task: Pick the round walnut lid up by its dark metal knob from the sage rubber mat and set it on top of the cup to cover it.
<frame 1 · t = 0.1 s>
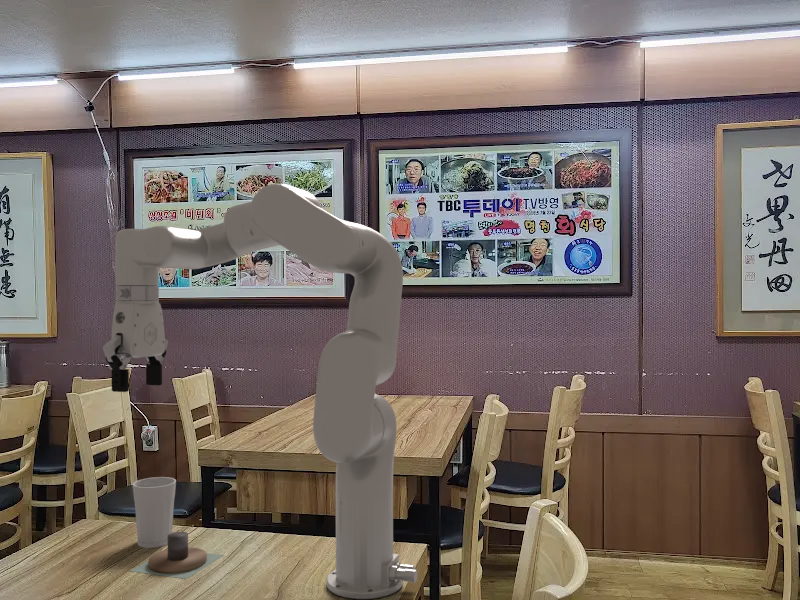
hand: (137, 388, 131), 31 cm above the table, fingers open, 9 cm apart
cup: (154, 544, 137), on the table
mat: (177, 565, 126), on the table
lid: (177, 562, 126), resting on mat
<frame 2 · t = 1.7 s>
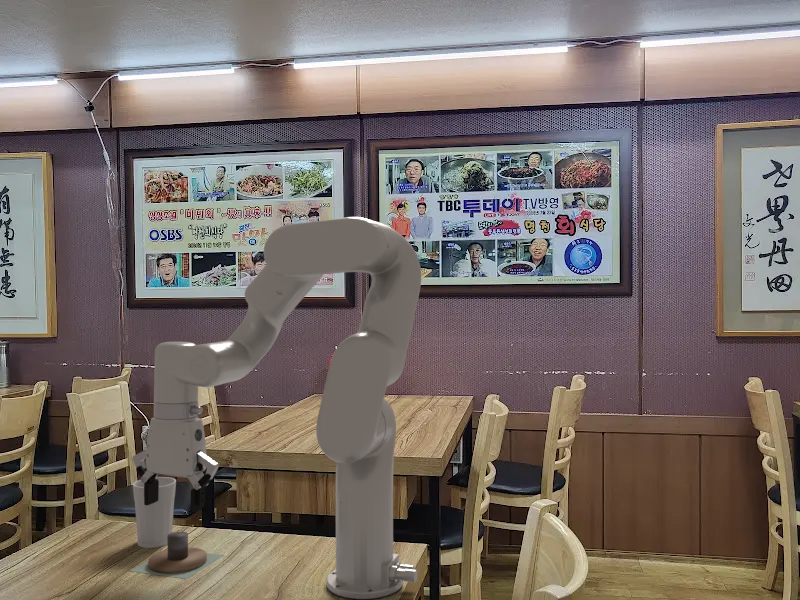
hand: (174, 506, 126), 10 cm above the table, fingers open, 9 cm apart
nothing on the table moved.
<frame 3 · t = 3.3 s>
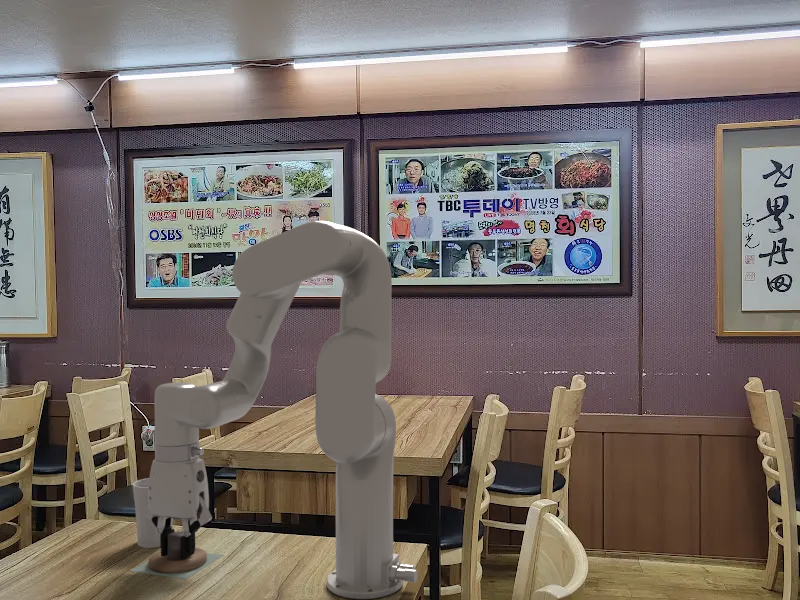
hand: (177, 554, 126), 2 cm above the table, fingers closed on lid, 3 cm apart
lid: (177, 562, 126), resting on mat, touching gripper
everything else where it was.
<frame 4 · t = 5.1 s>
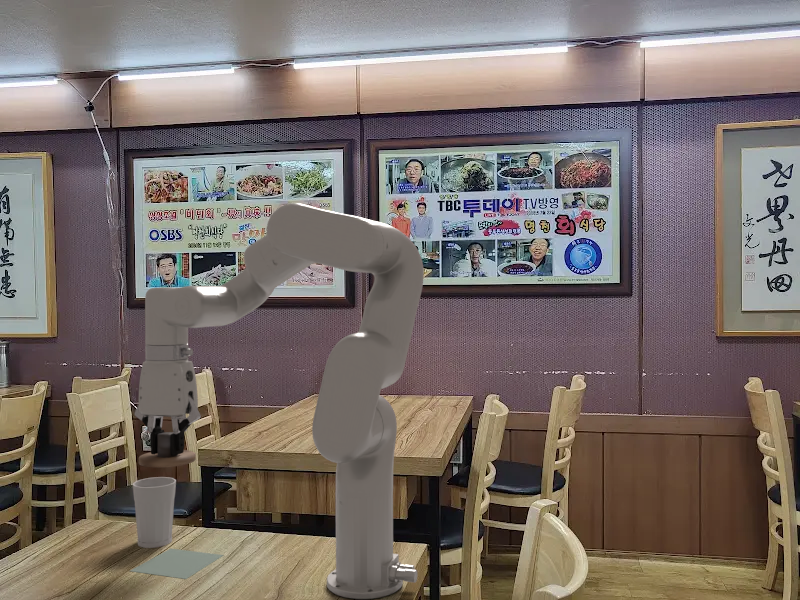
hand: (167, 452, 130), 19 cm above the table, fingers closed on lid, 3 cm apart
lid: (167, 461, 130), point 18 cm above the table, touching gripper
everything else where it was.
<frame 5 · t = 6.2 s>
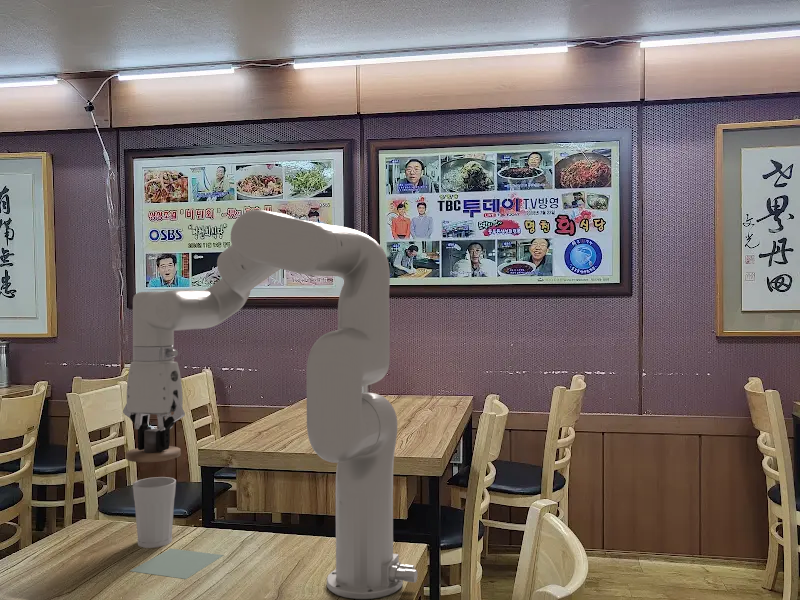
hand: (153, 448, 137), 19 cm above the table, fingers closed on lid, 3 cm apart
lid: (153, 456, 137), point 17 cm above the table, touching gripper
everything else where it was.
when the fingers open (15 cm above the table, at t = 7.0 s): lid drops 2 cm, resting on cup.
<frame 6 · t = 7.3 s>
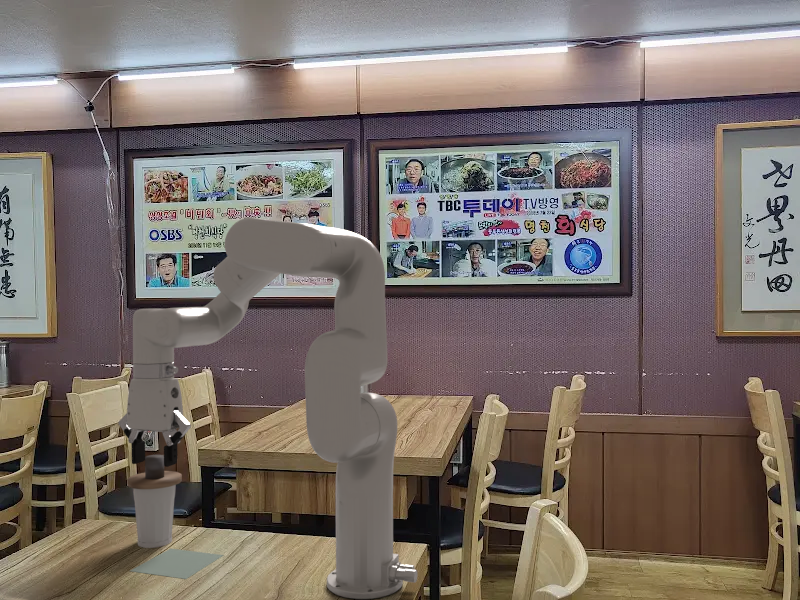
hand: (154, 463, 137), 16 cm above the table, fingers open, 6 cm apart
cup: (154, 544, 137), on the table, touching lid
lid: (154, 482, 137), point 12 cm above the table, touching cup
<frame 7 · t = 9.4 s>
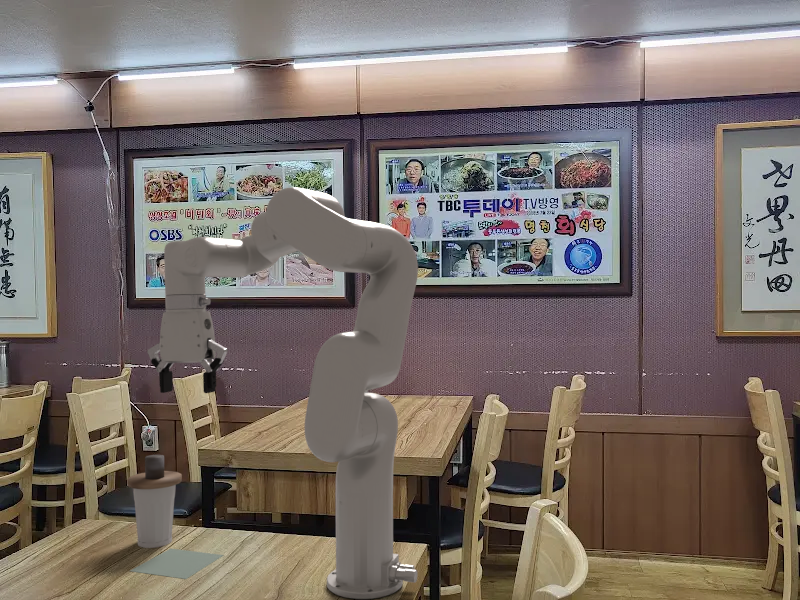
hand: (187, 392, 138), 29 cm above the table, fingers open, 9 cm apart
nothing on the table moved.
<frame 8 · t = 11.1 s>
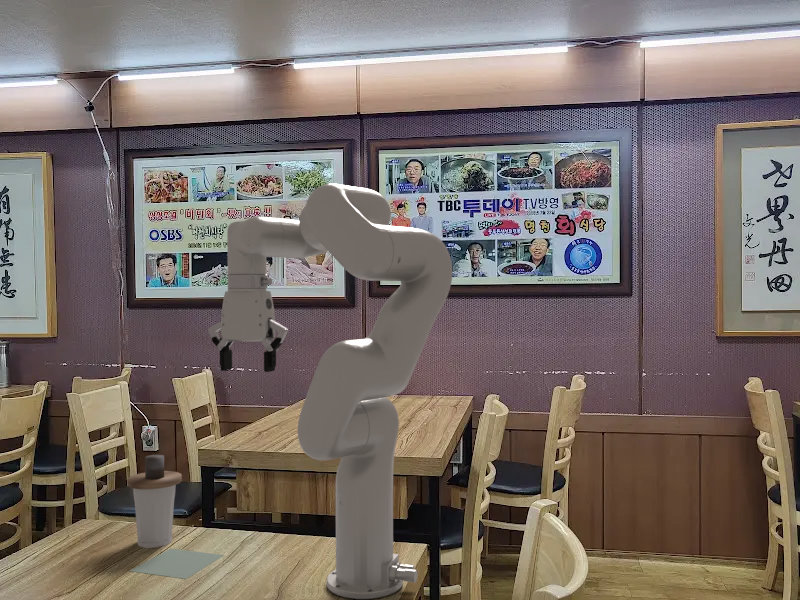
hand: (247, 370, 140), 33 cm above the table, fingers open, 9 cm apart
nothing on the table moved.
at the end: lid 0.1 cm off-centre on the cup, point 12.2 cm above the cup's base; lid tilted 0°; cup tilted 0° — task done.
